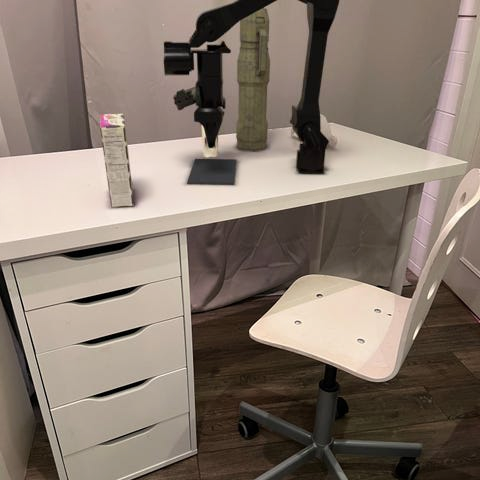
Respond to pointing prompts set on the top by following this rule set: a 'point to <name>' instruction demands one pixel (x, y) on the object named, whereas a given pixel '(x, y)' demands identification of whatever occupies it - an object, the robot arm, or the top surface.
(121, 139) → the candy bar box
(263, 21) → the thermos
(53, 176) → the top surface
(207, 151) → the milkshake
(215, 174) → the mat
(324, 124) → the superhero figure
